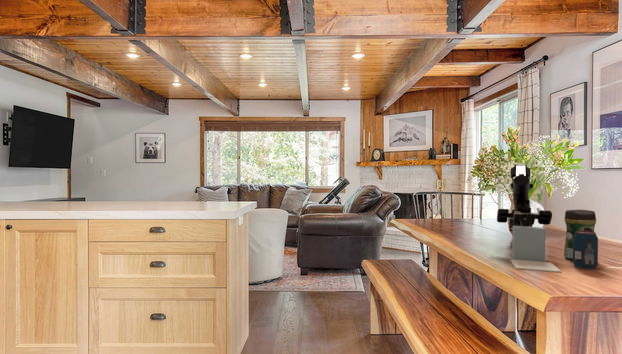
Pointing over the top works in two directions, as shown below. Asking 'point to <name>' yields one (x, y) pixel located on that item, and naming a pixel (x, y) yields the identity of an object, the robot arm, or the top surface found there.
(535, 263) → the beige square plate
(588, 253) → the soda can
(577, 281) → the top surface
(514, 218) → the robot arm
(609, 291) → the top surface
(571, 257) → the coffee jar
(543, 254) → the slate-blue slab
